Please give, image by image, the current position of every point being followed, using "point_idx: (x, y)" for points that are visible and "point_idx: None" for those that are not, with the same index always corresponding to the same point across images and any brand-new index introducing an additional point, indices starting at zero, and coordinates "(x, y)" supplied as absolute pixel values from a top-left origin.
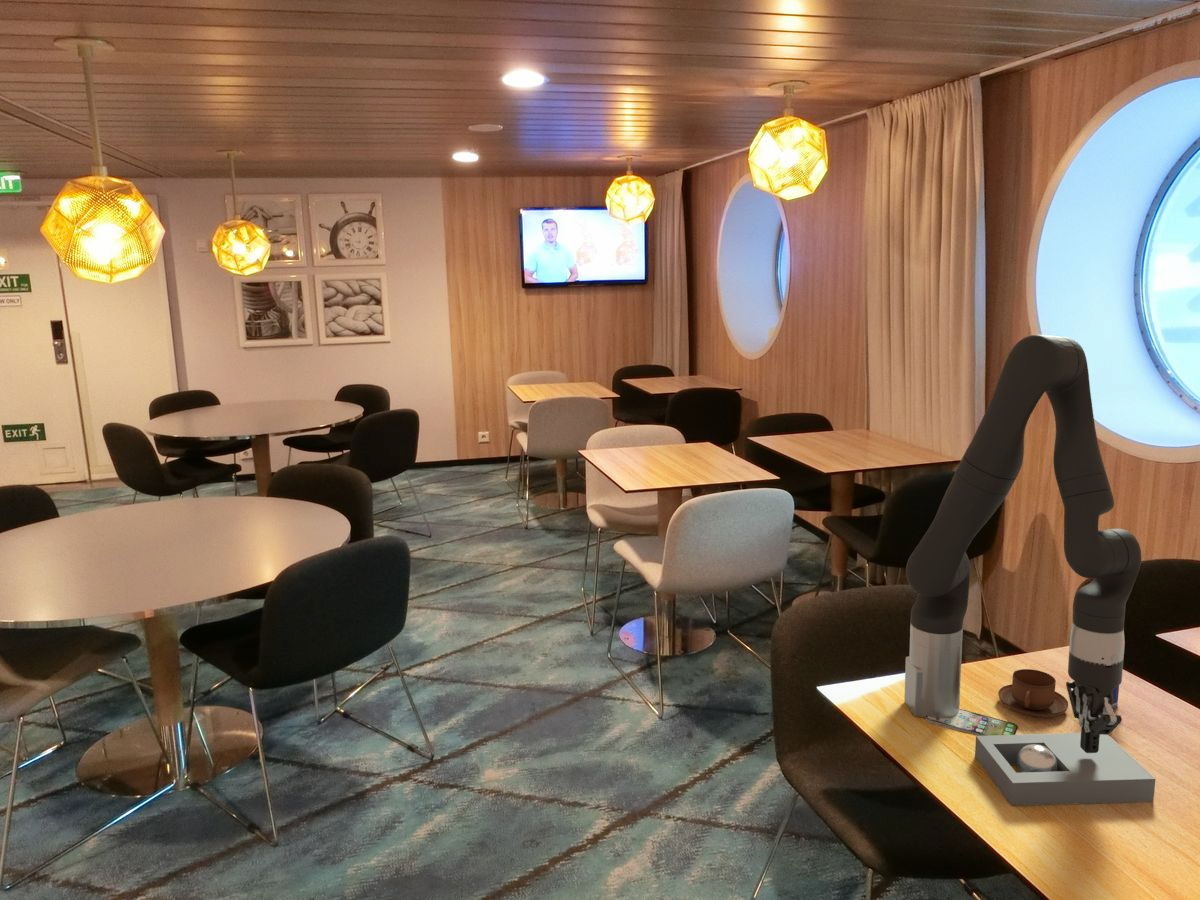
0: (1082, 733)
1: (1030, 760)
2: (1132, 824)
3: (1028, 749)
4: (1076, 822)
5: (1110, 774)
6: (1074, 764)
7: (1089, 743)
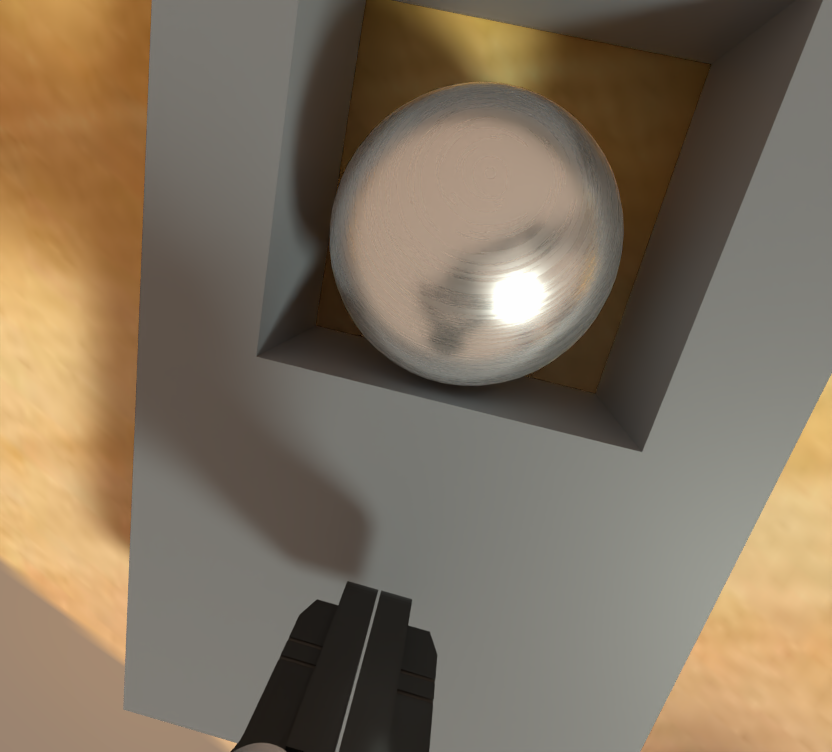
0: (366, 714)
1: (402, 112)
2: (69, 422)
3: (492, 145)
4: (94, 187)
5: (182, 552)
6: (321, 442)
7: (293, 656)
